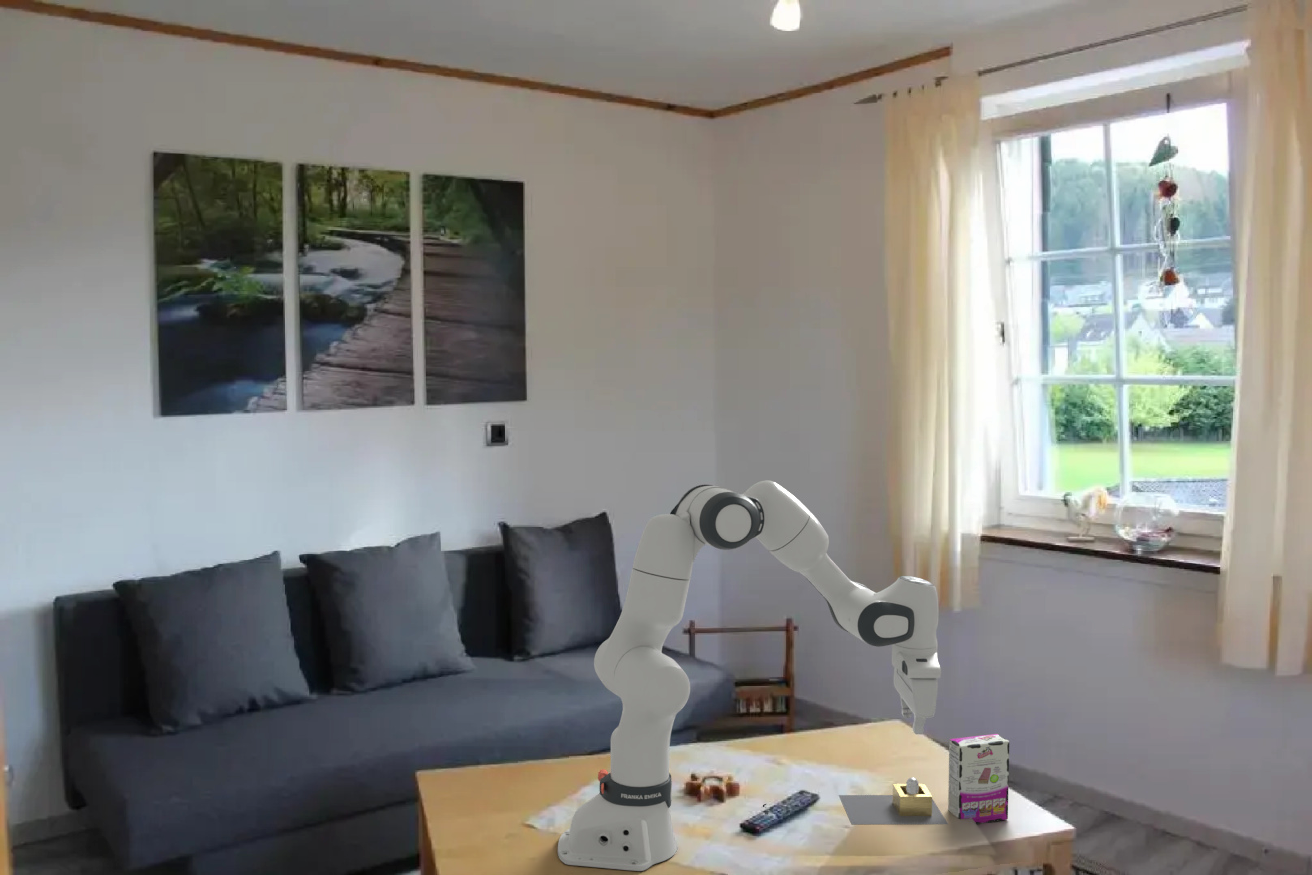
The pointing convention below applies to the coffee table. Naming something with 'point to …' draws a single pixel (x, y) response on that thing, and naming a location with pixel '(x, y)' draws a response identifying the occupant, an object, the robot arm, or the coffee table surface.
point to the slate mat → (883, 811)
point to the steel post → (912, 786)
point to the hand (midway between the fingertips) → (912, 724)
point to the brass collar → (912, 801)
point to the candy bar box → (979, 778)
